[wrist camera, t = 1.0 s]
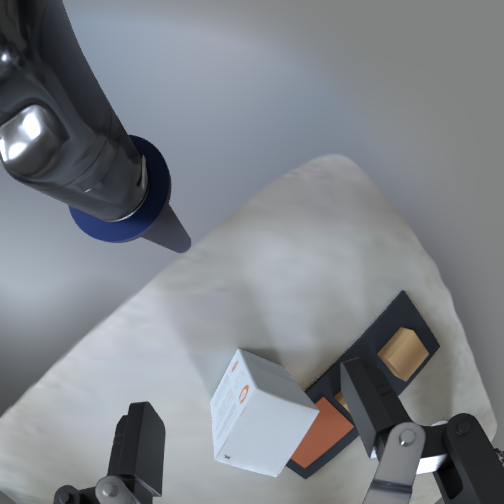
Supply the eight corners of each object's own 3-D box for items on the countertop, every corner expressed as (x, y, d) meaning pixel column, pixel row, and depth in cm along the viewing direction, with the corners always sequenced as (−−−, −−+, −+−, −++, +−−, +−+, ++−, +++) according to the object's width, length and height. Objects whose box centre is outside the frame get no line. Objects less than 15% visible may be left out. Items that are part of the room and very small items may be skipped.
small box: (255, 419, 35) (277, 479, 22) (209, 401, 34) (211, 461, 22) (285, 365, 36) (322, 410, 23) (238, 345, 35) (255, 386, 22)
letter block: (376, 353, 37) (388, 359, 34) (400, 326, 38) (413, 330, 35) (394, 375, 37) (405, 381, 35) (416, 349, 38) (429, 353, 35)
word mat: (249, 436, 35) (250, 439, 34) (401, 290, 39) (404, 290, 38) (304, 477, 36) (306, 480, 35) (438, 345, 39) (441, 346, 39)
